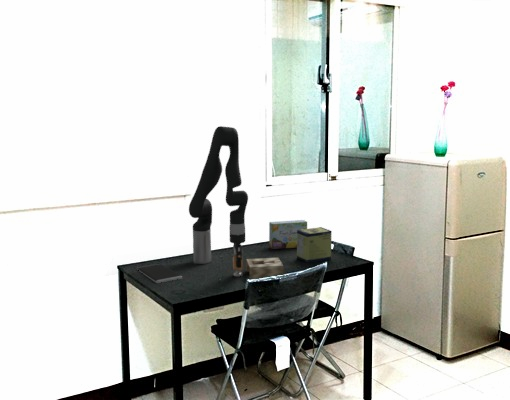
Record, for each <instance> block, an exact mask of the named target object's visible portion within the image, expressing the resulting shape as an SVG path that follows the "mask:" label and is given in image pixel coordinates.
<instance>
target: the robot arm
mask: <svg viewBox="0 0 510 400" xmlns="http://www.w3.org/2000/svg"><path fill="white" fill-rule="evenodd" d="M239 145H240V143H239V133H238V130H237V129H236V128H235V127H231V126H222V125H220V126H218V127H216V128H215V130H214V132H213V134H212V139H211V142H210V148H209V152H208V155H207V157H206V160H205V164H204V166H203V169H202V172H201V176H200V179H199V180H198V181H199V182H198V184H197V187H196V190H195V192H194V194H193V196H192V198H191V200H190V203H189V207H188V214H189V215H190V217H192V218H193V219H197V220H196V221H195V222H194V223H193V224H192V248H193V249H192V250H193V251H192V253H193V254H192V255H193V264H199V265H200V264H201V265H202V264H203V265H205V264H209V263H211V262H212V241H211V240H212V239H211V238H212V236H211V235H212V234H211V226H212V223H213V207H212V203H211V201H210V200H209V199H208V198H207V197H208V196H209V194H210V193H211V192H212V191H213V190H214V189H215V187H216V186H217V184H218V183H219V181H220V178H221V176H222V173H223V166H222V162H221V158H220V153H221V149H222V146H223V147H228V148H229V156H228V160H227V163H226V164H225V168H224V169H225V170H224V173H225V179H226V193H225V204H226V205H227V206H229V207H237V209H234V210H231V211H230V212H229V242H230V243H231V244H233V245H232V249H233V254H234V255H233V256H236V267H237V268H241V260H242V257H243V246H242V244H244V243H245V242H246V224H245V219H246V218H245V216H246V215H245V213H246V209H247V205H248V201H249V195H248V193H247V191H245V190H234V189H235V188H238V187H240V186H242V182H243V181H242V177H241V170H240V163H239V162H240V160H239V159H240V154H239V153H240V149H239V148H240V147H239ZM238 256H240V257H238Z"/></svg>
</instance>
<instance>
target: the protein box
mask: <svg viewBox="0 0 510 400" xmlns="http://www.w3.org/2000/svg"><path fill="white" fill-rule="evenodd" d="M332 233H333V232H332V230H330V229H327V228H324V227H322V226H320V227H312V228H307V229H303V230H297V247H296V258H297V259H298V260H300V261H302V262H305V263H307V264H308V263H314V262H320V261H321V262H322V261H328V260H327V259H329V260H332Z"/></svg>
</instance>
